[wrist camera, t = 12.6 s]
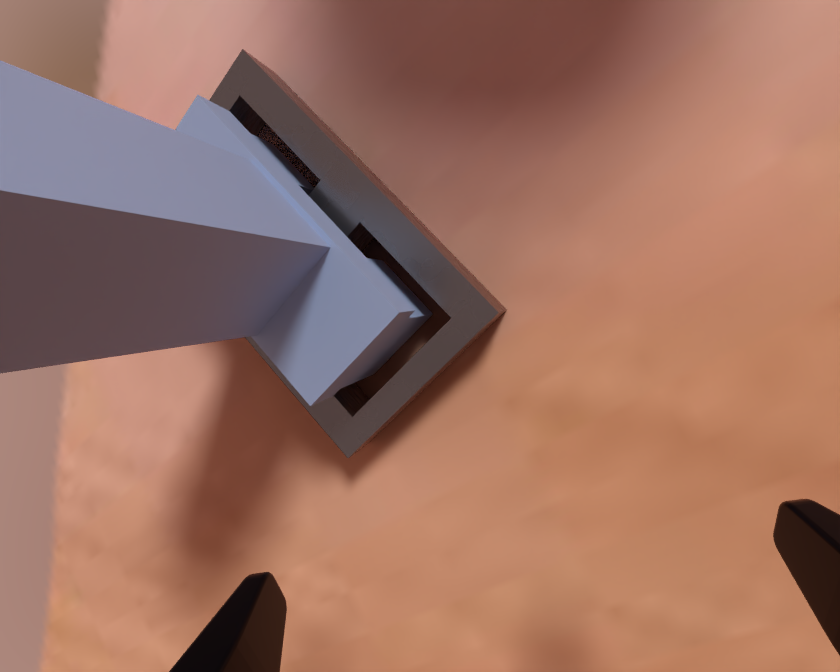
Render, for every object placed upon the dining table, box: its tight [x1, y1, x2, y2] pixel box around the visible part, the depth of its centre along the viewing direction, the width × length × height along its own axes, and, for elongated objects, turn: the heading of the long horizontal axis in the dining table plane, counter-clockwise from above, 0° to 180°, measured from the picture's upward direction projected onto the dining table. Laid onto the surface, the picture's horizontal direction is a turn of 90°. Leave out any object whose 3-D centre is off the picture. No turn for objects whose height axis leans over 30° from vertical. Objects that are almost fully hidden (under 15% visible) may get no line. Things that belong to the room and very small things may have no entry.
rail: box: [209, 49, 506, 458], centre depth 18 cm, size 14×8×2 cm, turn 44°
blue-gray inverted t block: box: [0, 61, 433, 406], centre depth 13 cm, size 10×4×14 cm, turn 44°
